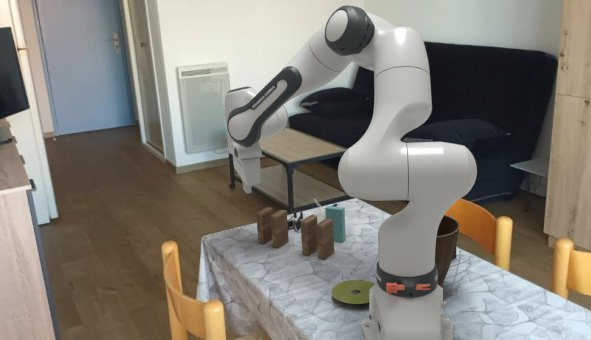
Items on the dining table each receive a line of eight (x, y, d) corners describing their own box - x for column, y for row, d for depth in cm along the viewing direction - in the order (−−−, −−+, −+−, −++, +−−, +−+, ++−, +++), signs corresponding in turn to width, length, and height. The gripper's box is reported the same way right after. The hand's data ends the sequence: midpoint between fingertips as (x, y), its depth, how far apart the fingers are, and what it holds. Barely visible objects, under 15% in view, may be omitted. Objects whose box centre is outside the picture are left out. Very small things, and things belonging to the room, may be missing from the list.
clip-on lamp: (314, 213, 185) (283, 233, 171) (313, 194, 184) (281, 214, 170) (346, 217, 179) (316, 239, 165) (345, 198, 177) (314, 218, 163)
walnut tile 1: (274, 240, 165) (272, 207, 163) (264, 246, 161) (261, 213, 159) (269, 239, 166) (266, 206, 164) (258, 245, 163) (256, 212, 160)
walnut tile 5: (334, 254, 154) (332, 219, 151) (324, 261, 150) (322, 225, 147) (328, 252, 155) (326, 218, 152) (318, 259, 151) (316, 224, 149)
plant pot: (465, 279, 136) (467, 216, 132) (447, 309, 124) (448, 240, 120) (405, 268, 144) (405, 208, 139) (382, 294, 131) (381, 230, 127)
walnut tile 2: (288, 243, 163) (286, 210, 160) (278, 250, 159) (276, 216, 156) (283, 242, 164) (281, 209, 161) (272, 248, 160) (270, 215, 157)
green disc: (346, 283, 138) (345, 275, 137) (389, 293, 132) (389, 285, 132) (322, 304, 129) (322, 296, 128) (368, 316, 123) (368, 307, 123)
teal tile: (329, 238, 164) (327, 205, 162) (345, 240, 162) (344, 207, 160) (326, 241, 163) (325, 208, 160) (343, 243, 161) (341, 209, 158)
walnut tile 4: (318, 250, 157) (317, 216, 154) (308, 257, 153) (306, 222, 150) (312, 249, 158) (310, 215, 155) (302, 255, 154) (300, 221, 151)
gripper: (226, 138, 168) (230, 183, 172) (239, 155, 150) (243, 204, 154) (247, 135, 170) (250, 180, 174) (262, 152, 151) (266, 201, 155)
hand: (247, 191), depth 164 cm, fingers closed
